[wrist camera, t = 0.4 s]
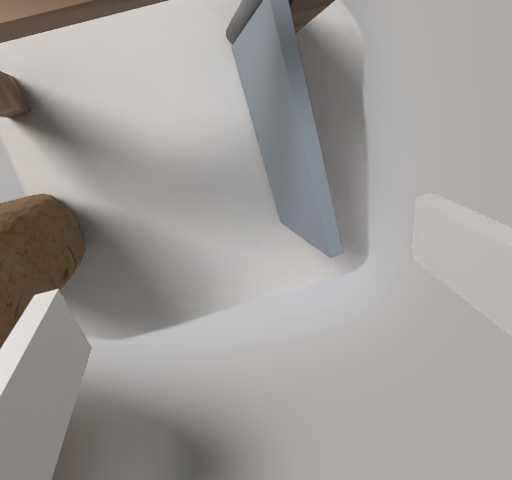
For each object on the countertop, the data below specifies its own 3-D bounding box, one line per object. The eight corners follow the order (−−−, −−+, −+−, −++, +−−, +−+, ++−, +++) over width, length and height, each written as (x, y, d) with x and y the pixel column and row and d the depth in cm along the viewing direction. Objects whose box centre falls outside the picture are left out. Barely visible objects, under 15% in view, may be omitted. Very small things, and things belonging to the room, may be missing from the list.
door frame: (-11, 82, 29) (-312, -15, 11) (284, 3, 34) (429, -166, 15) (8, 117, 31) (-240, 82, 12) (291, 36, 35) (435, -84, 16)
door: (223, 27, 32) (257, -41, 20) (256, 18, 33) (307, -53, 21) (279, 222, 40) (328, 258, 27) (305, 212, 40) (364, 244, 28)
